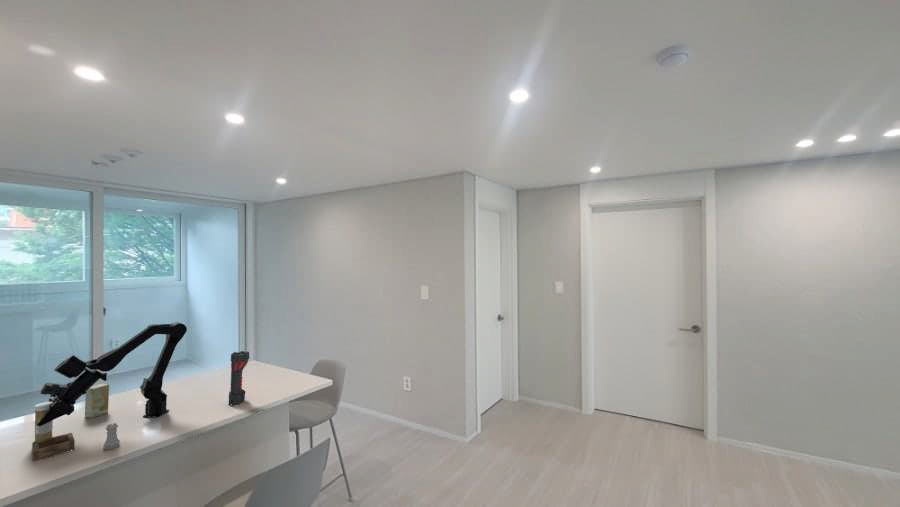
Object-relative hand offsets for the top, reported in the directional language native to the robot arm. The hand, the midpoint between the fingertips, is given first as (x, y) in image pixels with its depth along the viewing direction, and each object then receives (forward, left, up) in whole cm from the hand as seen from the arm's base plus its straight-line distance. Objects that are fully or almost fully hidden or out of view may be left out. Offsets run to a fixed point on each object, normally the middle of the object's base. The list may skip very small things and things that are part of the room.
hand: (38, 423), depth 132 cm
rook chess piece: (-29, +3, -7) cm, 30 cm away
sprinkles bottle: (-1, -1, -7) cm, 7 cm away
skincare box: (+2, -25, -7) cm, 26 cm away
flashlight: (-51, -38, -7) cm, 64 cm away
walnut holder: (-11, +5, -7) cm, 14 cm away
